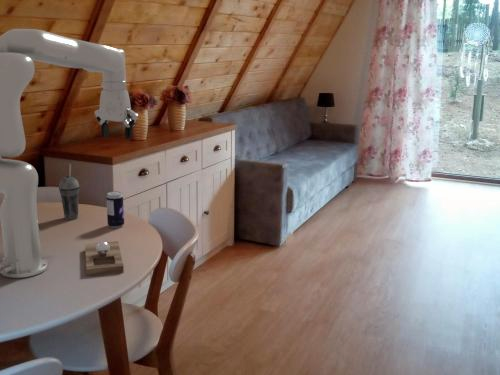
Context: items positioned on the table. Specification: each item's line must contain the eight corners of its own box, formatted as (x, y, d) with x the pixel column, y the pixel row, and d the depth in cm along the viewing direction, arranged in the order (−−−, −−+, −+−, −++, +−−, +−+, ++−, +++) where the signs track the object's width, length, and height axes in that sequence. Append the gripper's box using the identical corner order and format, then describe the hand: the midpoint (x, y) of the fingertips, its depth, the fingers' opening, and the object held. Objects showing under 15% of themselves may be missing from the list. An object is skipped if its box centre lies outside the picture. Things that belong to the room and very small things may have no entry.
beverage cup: (56, 219, 201) (52, 165, 195) (71, 213, 207) (67, 161, 202) (71, 222, 197) (67, 167, 192) (86, 216, 204) (82, 163, 198)
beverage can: (122, 228, 191) (120, 195, 188) (105, 228, 192) (104, 195, 188) (126, 223, 197) (124, 191, 194) (110, 223, 197) (108, 190, 194)
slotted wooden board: (123, 272, 156) (123, 265, 156) (86, 276, 154) (86, 269, 153) (118, 247, 175) (118, 241, 174) (85, 250, 172) (85, 244, 171)
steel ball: (104, 257, 161) (103, 245, 160) (93, 255, 163) (92, 242, 162) (113, 253, 165) (112, 240, 164) (102, 251, 166) (101, 238, 165)
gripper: (86, 86, 184) (89, 136, 189) (129, 88, 177) (131, 141, 182) (100, 84, 191) (103, 133, 195) (143, 87, 184) (144, 137, 189)
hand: (117, 137), depth 189 cm, fingers open, 9 cm apart
